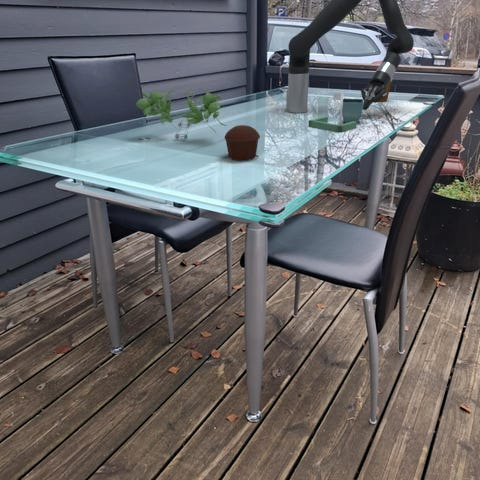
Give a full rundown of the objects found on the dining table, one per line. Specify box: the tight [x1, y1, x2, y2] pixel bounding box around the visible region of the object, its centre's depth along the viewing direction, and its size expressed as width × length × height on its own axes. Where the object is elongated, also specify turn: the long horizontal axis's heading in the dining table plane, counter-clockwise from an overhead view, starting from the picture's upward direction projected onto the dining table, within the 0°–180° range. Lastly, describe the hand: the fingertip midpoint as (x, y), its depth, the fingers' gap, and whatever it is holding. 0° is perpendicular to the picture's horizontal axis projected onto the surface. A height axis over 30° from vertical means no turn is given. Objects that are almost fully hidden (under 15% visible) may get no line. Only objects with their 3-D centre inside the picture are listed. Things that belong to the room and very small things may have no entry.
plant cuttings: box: [135, 89, 227, 142], centre depth 175 cm, size 35×17×22 cm
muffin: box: [223, 124, 261, 162], centre depth 150 cm, size 12×11×10 cm
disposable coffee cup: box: [376, 78, 394, 103], centre depth 234 cm, size 10×10×12 cm
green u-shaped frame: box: [307, 92, 358, 133], centre depth 183 cm, size 16×10×14 cm, turn 41°
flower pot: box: [342, 98, 364, 124], centre depth 192 cm, size 9×9×9 cm
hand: (363, 108), depth 197 cm, fingers closed
